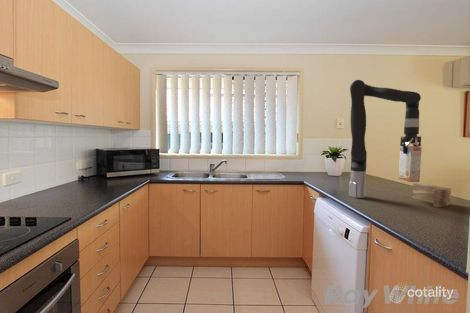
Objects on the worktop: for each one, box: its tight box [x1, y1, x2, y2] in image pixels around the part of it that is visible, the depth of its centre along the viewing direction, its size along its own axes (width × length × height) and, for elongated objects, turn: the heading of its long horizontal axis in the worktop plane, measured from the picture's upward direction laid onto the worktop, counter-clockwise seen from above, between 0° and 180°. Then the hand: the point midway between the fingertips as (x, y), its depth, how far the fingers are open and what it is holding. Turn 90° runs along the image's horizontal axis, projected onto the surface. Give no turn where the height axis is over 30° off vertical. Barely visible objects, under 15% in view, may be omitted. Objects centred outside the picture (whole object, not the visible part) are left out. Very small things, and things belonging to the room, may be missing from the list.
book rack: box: [412, 182, 452, 208], centre depth 164 cm, size 10×21×10 cm, turn 20°
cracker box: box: [398, 145, 422, 183], centre depth 166 cm, size 14×6×21 cm, turn 172°
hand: (410, 153), depth 165 cm, fingers closed on cracker box, 8 cm apart
